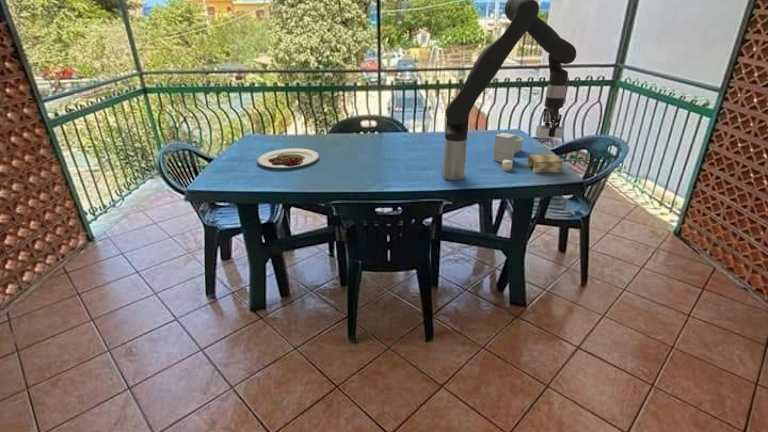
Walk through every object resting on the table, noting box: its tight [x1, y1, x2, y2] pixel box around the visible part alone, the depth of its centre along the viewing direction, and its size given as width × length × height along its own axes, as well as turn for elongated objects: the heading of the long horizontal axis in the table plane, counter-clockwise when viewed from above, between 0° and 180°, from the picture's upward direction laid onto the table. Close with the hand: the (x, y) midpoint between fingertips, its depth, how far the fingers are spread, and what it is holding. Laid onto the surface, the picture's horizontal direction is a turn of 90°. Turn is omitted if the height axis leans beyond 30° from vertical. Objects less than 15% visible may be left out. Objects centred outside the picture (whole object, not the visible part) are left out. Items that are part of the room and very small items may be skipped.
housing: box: [535, 124, 565, 139], centre depth 181 cm, size 10×5×4 cm, turn 88°
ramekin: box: [514, 135, 524, 155], centre depth 212 cm, size 13×13×7 cm
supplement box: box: [492, 132, 517, 163], centre depth 197 cm, size 7×7×13 cm
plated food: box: [256, 148, 320, 169], centre depth 205 cm, size 30×30×3 cm
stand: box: [526, 154, 564, 173], centre depth 188 cm, size 12×10×5 cm
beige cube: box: [501, 160, 514, 172], centre depth 188 cm, size 4×4×4 cm
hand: (548, 134), depth 182 cm, fingers closed on housing, 5 cm apart
